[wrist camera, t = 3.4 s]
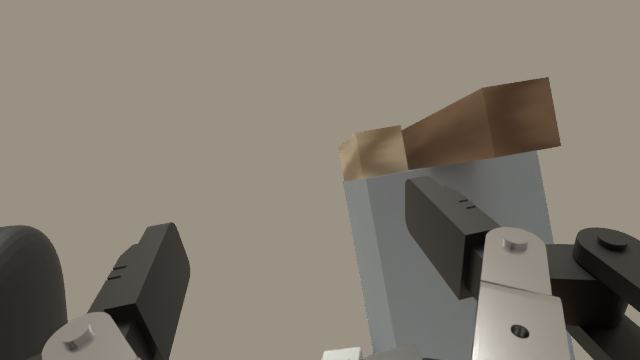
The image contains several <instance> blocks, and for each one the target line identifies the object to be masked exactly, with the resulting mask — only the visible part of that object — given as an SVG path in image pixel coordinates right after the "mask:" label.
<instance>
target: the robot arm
mask: <svg viewBox="0 0 640 360" xmlns="http://www.w3.org/2000/svg"><path fill="white" fill-rule="evenodd" d="M405 221H406V226H407V229H408V231H409V233H410V234H411V236H412V237H413V239H414V240H415V241H416V243H417V244H418V245H419V247H420V248H421V249H422V251H423V252H424V253H425V255H426V256H427V258H428V259H429V260H430V262H431V263H432V264H433V266H434V267H435V268H436V270H437V271H438V272H439V274H440V275H441V277H442V278H443V279H444V281H445V282H446V283H447V285H448V286H449V287H450V289H451V290H452V291H453V293H454V294H455V296H456V297H457V298H458V300H462V299H466V298H470V297H474V298H475V300H476V301H477V306H476V314H475V322H474V330H473V339H472V347H471V355H470V360H570V353H569V347H568V340H567V334H566V331H567V332H568V333H569V334H570V335H571V336H572V337H573V338H574V339H575V340H576V341H577V342H578V343H579V344H580V346H582V348H583V349H584V350H585V351H586V352H587V353H588V354H589V355H590V356H591V357H592V358H593V359H594V360H640V327H639V326H637V325H636V324H635V323H634V322H633V321H632V320H630V319H629V318H628V317H627V316H626V315H625V311H626V309H627V306H628V304H630V305H631V306H633V307H634V308H635V309H636V310H638V311H639V312H640V241H639V240H637V239H636V238H634V237H632V236H629V235H627V234H625V233H622V232H619V231H616V230H611V229H606V228H587V229H583V230H581V231H580V232H578V234H577V237H576V240H575V244H574V245H568V244H544V242H543V241H542V240H541V239H540V238H539V237H538V236H536V235H534V234H533V233H531V232H528V231H526V230H522V229H518V228H512V227H501V226H500V225H499V224H497V223H496V222H495V221H494V220H493V219H491V218H490V217H489V216H488V215H487V214H485V213H484V212H483V211H482V210H481V209H479V208H478V207H477V208H476V205H474V204H473V203H472V202H471V201H468V199H467V198H466V197H465V196H464V195H462V194H461V193H460V192H459V191H456V190H454V189H451V188H449V187H446V186H443V187H441V186H440V185H439V184H438V183H437V182H436V181H435V180H433V179H432V178H431V177H430V176H422V177H416V178H411V179H407V180H406V183H405ZM189 278H190V265H189V260H188V257H187V255H186V252H185V249H184V247H183V244H182V241H181V238H180V236H179V233H178V230H177V228H176V226H175V224H174V223H172V222H171V223H166V224H160V225H155V226H150V227H147V229H146V230H145V232H144V234H143V236H142V238H141V240H140V242H139V243H138V244H135V245H132V246H131V247H130V248H129V249H128V250H127V251H125V253H123V254H122V255H121V256H120V257H119V259H118V261H117V263H116V264H115V266H114V268H113V271H111V273H110V275H109V276H108V278H107V279H108V280H107V281H105V283H104V285H103V287H102V289H101V290H100V292H99V293H98V295H97V297H96V299H95V300H94V302H93V304H92V305H91V307H90V309H89V311H88V312H87V314H85V315H82V316H80V317H78V318H76V319H74V320H72V321H70V322H68V320H67V309H66V299H65V289H64V281H63V274H62V269H61V265H60V261H59V258H58V255H57V253H56V250H55V248H54V246H53V244H52V243H51V242H50V240H49V239H48V238H47V236H45V235H44V234H43V233H42V232H41V231H39V230H37V229H35V228H33V227H30V226H23V225H18V226H6V227H0V360H169V356H170V352H171V348H172V344H173V341H174V336H175V333H176V329H177V325H178V321H179V317H180V313H181V310H182V306H183V301H184V298H185V294H186V290H187V286H188V282H189ZM362 360H439V359H432V358H422V357H421V355H420V353H419V351H418V349H417V347H416V345H415V344H411V345H407V346H403V347H399V348H394V349H390V350H386V351H382V352H378V353H374V354H372V355H370V356H368V357H366V358H364V359H362Z"/></svg>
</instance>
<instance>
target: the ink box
mask: <svg viewBox="0 0 640 360" xmlns="http://www.w3.org/2000/svg"><path fill="white" fill-rule="evenodd" d="M362 359H363V357H362V352H361V348H359V347H356V348H346V349H337V350H329V351H325V352H324V354H323V357H322V360H362Z"/></svg>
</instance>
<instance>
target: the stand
mask: <svg viewBox="0 0 640 360" xmlns="http://www.w3.org/2000/svg"><path fill="white" fill-rule="evenodd" d="M422 176H430V177H431V178H432V179H433V180H435V181H436V182H437V183H438V184H439V185H440V186H441V187H443V186H446V187H449V188H451V189H454V190H456V191H459V192H460V193H461V194H462V195H464V196H465V197H466V198H467V199H468V201H471V202H472V203H473V204H474V205H476V208H477V207H478V208H479V209H481V210H482V211H483V212H484V213H485V214H487V215H488V216H489V217H490V218H491V219H493V220H494V221H495V222H496V223H497V224H499V225H500V226H501V227H512V228H518V229H522V230H526V231H528V232H531V233H533V234H534V235H536V236H538V237H539V238H540V239H541V240H542V241H543V242H544V244H554V243H553V236H552V231H551V226H550V220H549V215H548V209H547V204H546V198H545V193H544V187H543V183H542V177H541V171H540V165H539V160H538V155H537V150H536V151H530V152H525V153H519V154H513V155H508V156H502V157H497V158H490V159H483V160H477V161H470V162H463V163H456V164H449V165H442V166H435V167H428V168H422V169H415V170H409V171H406V172H400V173H394V174H389V175H383V176H378V177H372V178H366V179H359V180H351V181H343V184H344V189H345V194H346V200H347V206H348V211H349V217H350V222H351V228H352V234H353V239H354V245H355V251H356V256H357V262H358V267H359V273H360V278H361V284H362V290H363V295H364V301H365V307H366V312H367V318H368V323H369V329H370V335H371V340H372V345H373V351H374V353H378V352H382V351H386V350H390V349H394V348H399V347H403V346H407V345H411V344H415V345H416V347H417V349H418V351H419V353H420V355H421V357H422V358H432V359H439V360H470V355H471V347H472V339H473V330H474V322H475V314H476V306H477V301H476V300H475V298H474V297H470V298H466V299H462V300H458V298H457V297H456V296H455V294H454V293H453V291H452V290H451V289H450V287H449V286H448V285H447V283H446V282H445V281H444V279H443V278H442V277H441V275H440V274H439V272H438V271H437V270H436V268H435V267H434V266H433V264H432V263H431V262H430V260H429V259H428V258H427V256H426V255H425V253H424V252H423V251H422V249H421V248H420V247H419V245H418V244H417V243H416V241H415V240H414V239H413V237H412V236H411V234H410V233H409V231H408V229H407V226H406V221H405V183H406V180H407V179H411V178H416V177H422ZM566 334H567V340H568V347H569V353H570V360H575V357H574V352H573V346H572V340H571V335H570V334H569V333H568V332H567V331H566Z"/></svg>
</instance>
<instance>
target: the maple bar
mask: <svg viewBox="0 0 640 360" xmlns="http://www.w3.org/2000/svg"><path fill="white" fill-rule="evenodd" d="M338 149H339V154H340V159H341V165H342V170H343V176H344V181H351V180H359V179H366V178H372V177H378V176H383V175H389V174H394V173H400V172H406V171H409V170H408V164H407V159H406V153H405V148H404V142H403V137H402V131H401V126H400V125H398V126H393V127H387V128H381V129H375V130H369V131H363V132H357V133H354V134H353V135H352V136H351V137H350V138H349V139H348V140H347V141H346V142H344V143H343V144H342V145H341V146H340V147H339V148H338Z"/></svg>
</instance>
